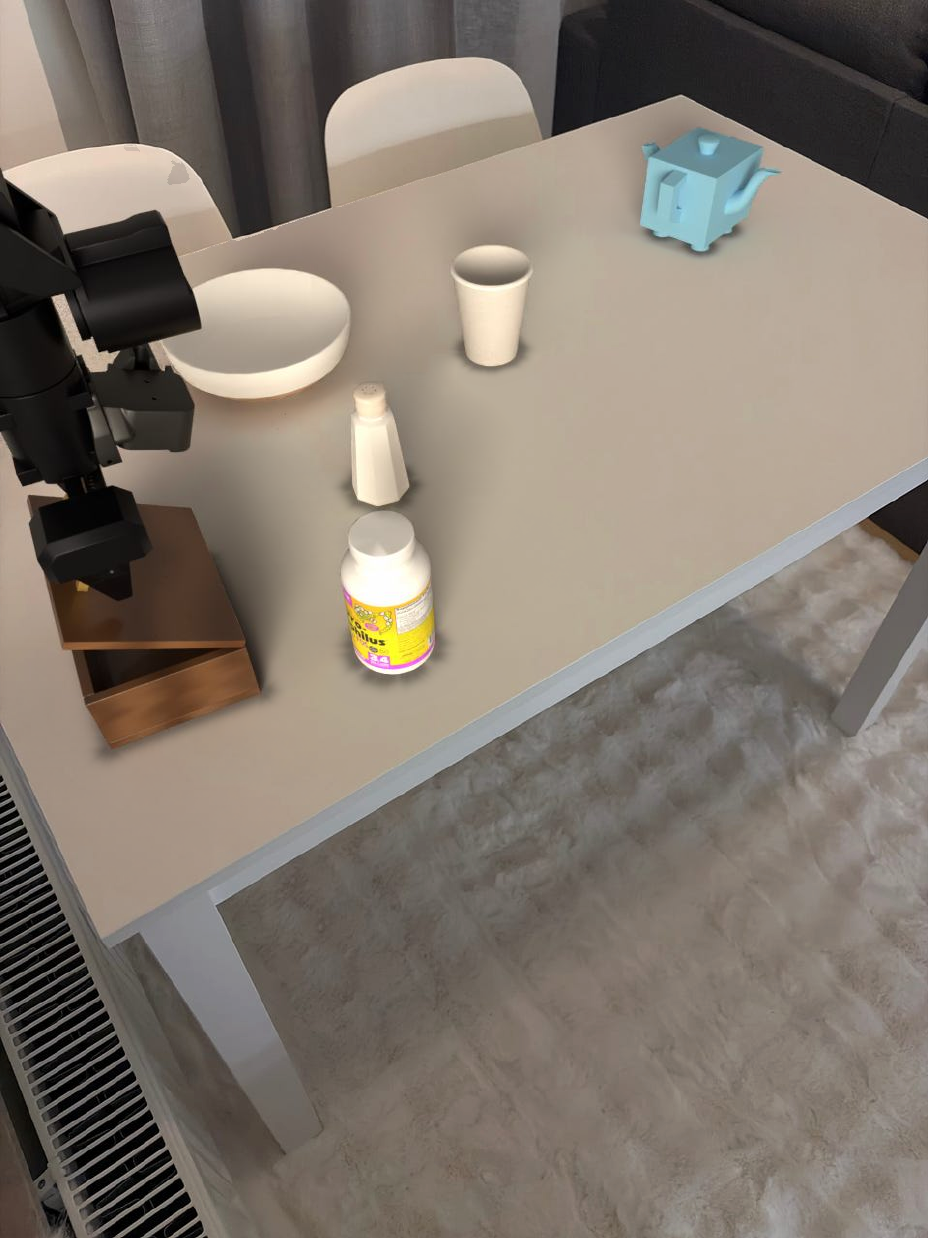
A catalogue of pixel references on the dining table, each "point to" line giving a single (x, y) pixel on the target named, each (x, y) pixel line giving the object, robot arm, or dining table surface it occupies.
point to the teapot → (700, 186)
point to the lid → (151, 593)
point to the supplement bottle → (388, 593)
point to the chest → (160, 687)
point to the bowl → (262, 334)
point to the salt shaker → (376, 448)
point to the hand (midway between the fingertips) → (111, 553)
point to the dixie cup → (491, 300)
